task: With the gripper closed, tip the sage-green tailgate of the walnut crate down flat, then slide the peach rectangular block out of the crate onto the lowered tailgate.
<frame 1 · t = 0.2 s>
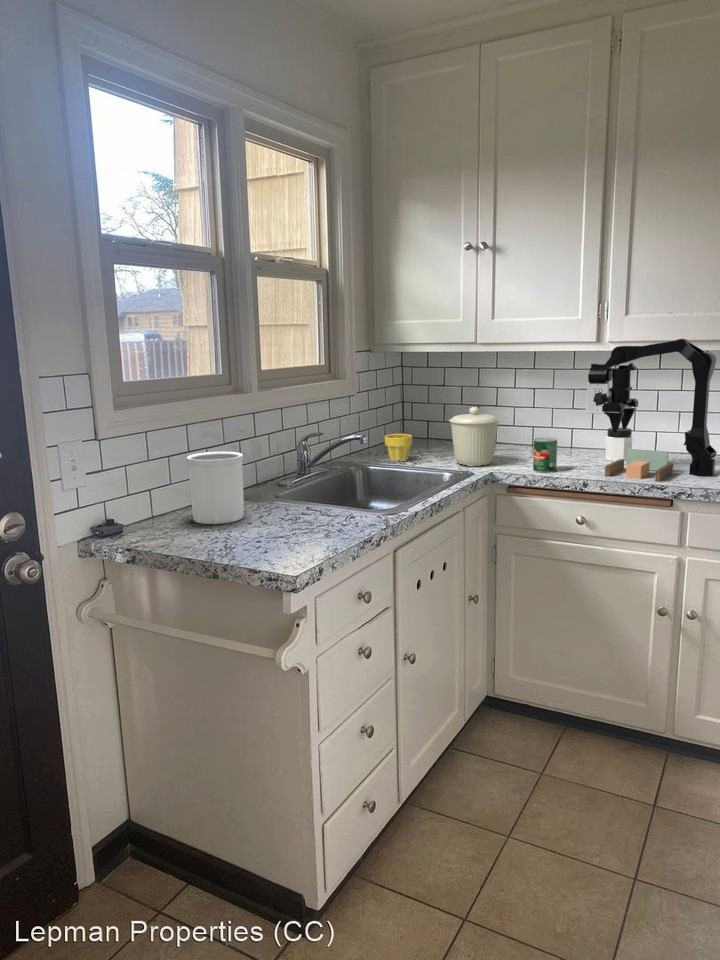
hand: (619, 430, 244), 14 cm above the counter, tool pointing down, fingers open, 9 cm apart
utensil holder: (219, 518, 199), on the counter
jar: (618, 462, 263), on the counter
canned tomato: (544, 471, 251), on the counter
tailgate: (647, 459, 240), point 5 cm above the counter, hinge at 0.0°
canister: (474, 464, 266), on the counter
peach rectangular block: (637, 476, 233), point 1 cm above the counter, touching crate
plant pot: (398, 461, 277), on the counter
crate: (638, 478, 234), on the counter
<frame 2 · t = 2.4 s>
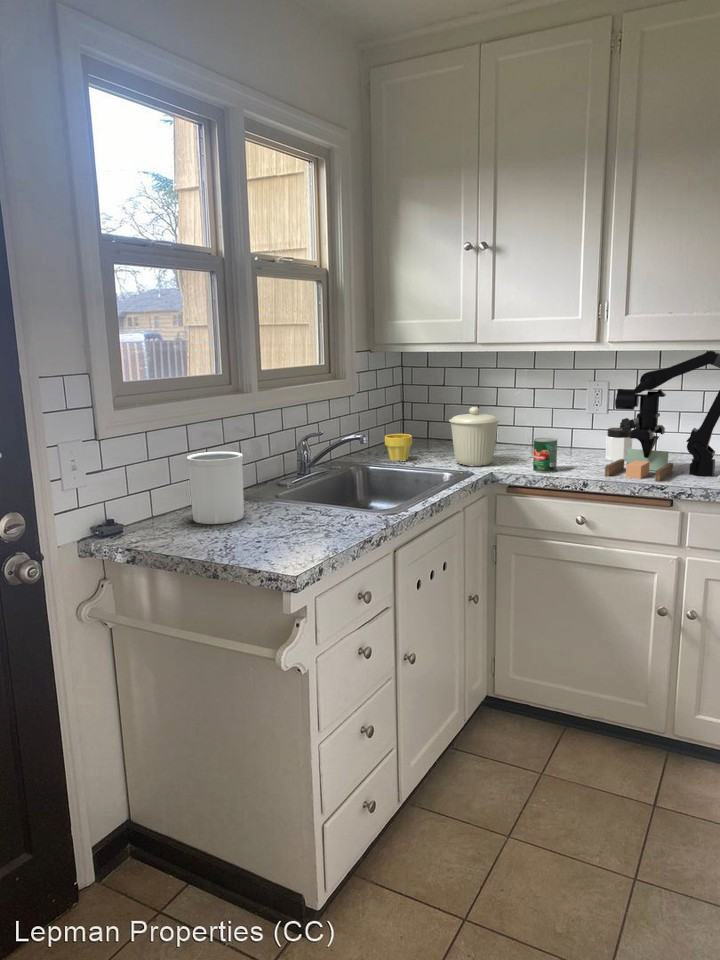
hand: (646, 457, 238), 6 cm above the counter, tool pointing down, fingers closed
tailgate: (647, 459, 240), point 5 cm above the counter, hinge at 2.5°, touching gripper
everything else where it was.
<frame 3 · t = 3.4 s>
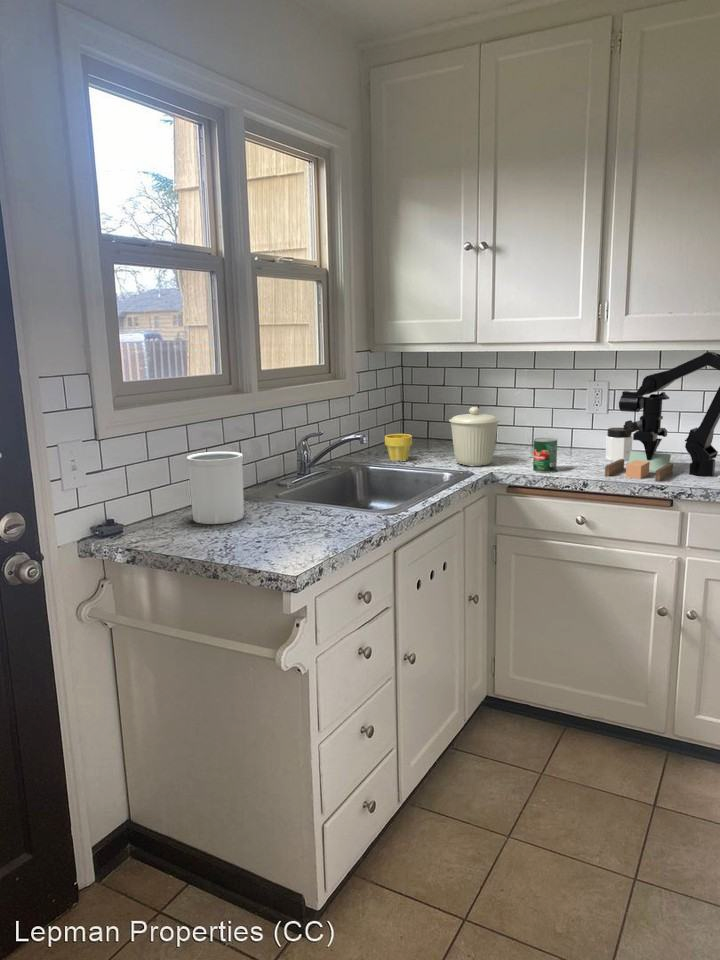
hand: (648, 459, 241), 4 cm above the counter, tool pointing down, fingers closed, pressing on tailgate
tailgate: (648, 462, 241), point 4 cm above the counter, hinge at 34.3°, touching gripper
everything else where it was.
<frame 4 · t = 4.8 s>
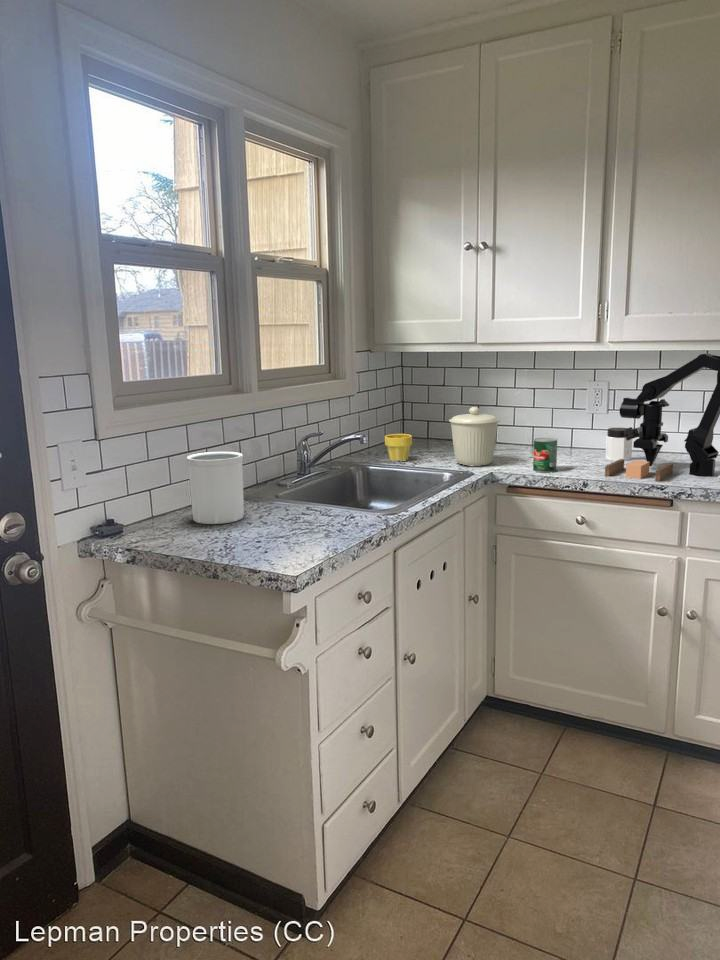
hand: (649, 466, 243), 2 cm above the counter, tool pointing down, fingers closed
tailgate: (649, 470, 243), point 1 cm above the counter, hinge at 87.4°
everything else where it was.
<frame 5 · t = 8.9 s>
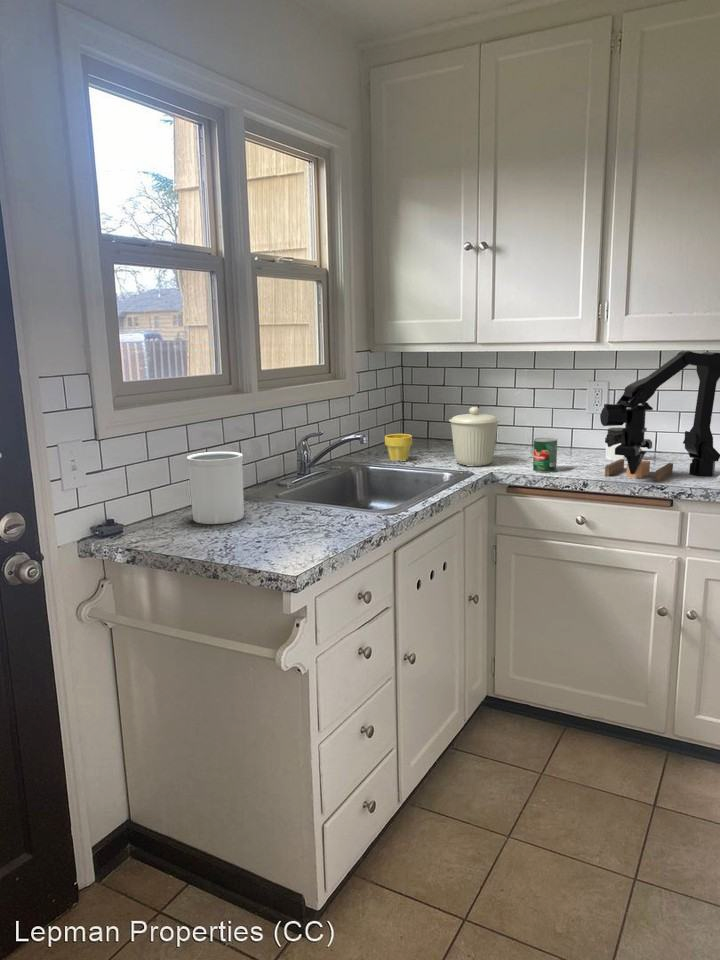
hand: (632, 474, 229), 3 cm above the counter, tool pointing down, fingers closed
peach rectangular block: (637, 475, 234), point 1 cm above the counter, touching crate, gripper
everything else where it was.
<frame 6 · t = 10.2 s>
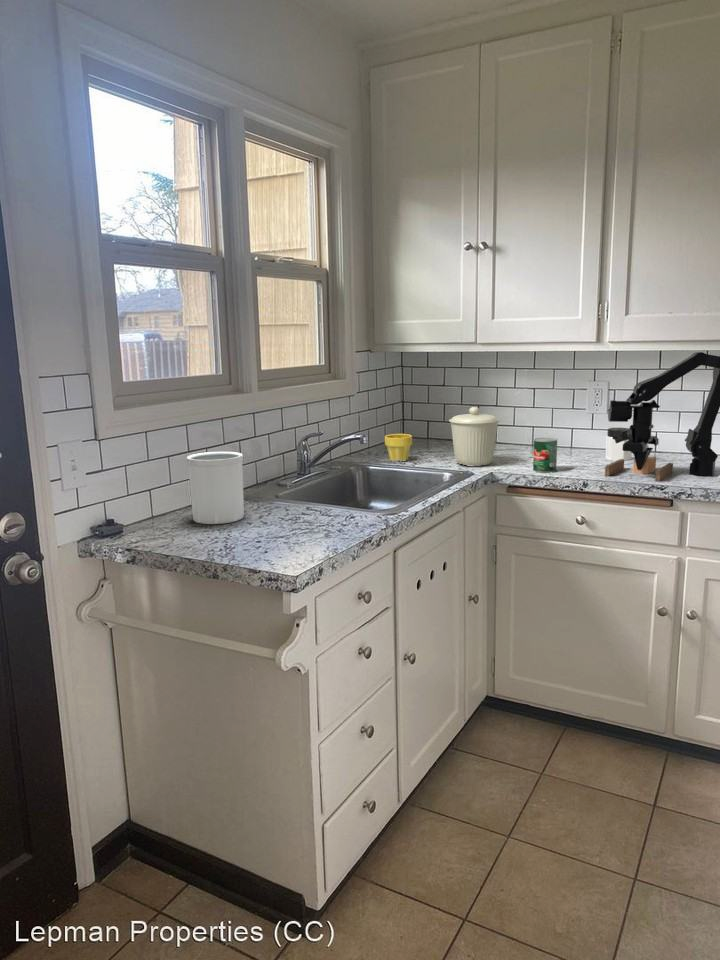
hand: (639, 469, 234), 3 cm above the counter, tool pointing down, fingers closed
tailgate: (649, 470, 243), point 1 cm above the counter, hinge at 88.0°
peach rectangular block: (644, 471, 240), point 1 cm above the counter, touching gripper
everything else where it was.
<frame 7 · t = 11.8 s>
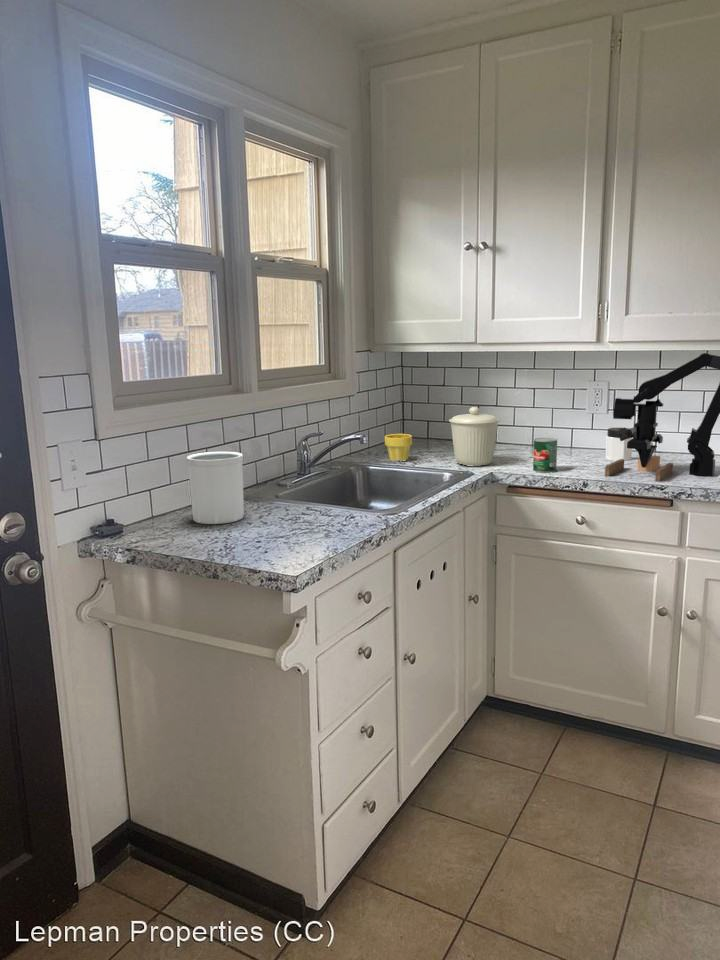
hand: (643, 467, 238), 3 cm above the counter, tool pointing down, fingers closed
tailgate: (648, 471, 243), on the counter, hinge at 90.4°, touching peach rectangular block
peach rectangular block: (648, 469, 243), point 1 cm above the counter, touching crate, gripper, tailgate
everything else where it was.
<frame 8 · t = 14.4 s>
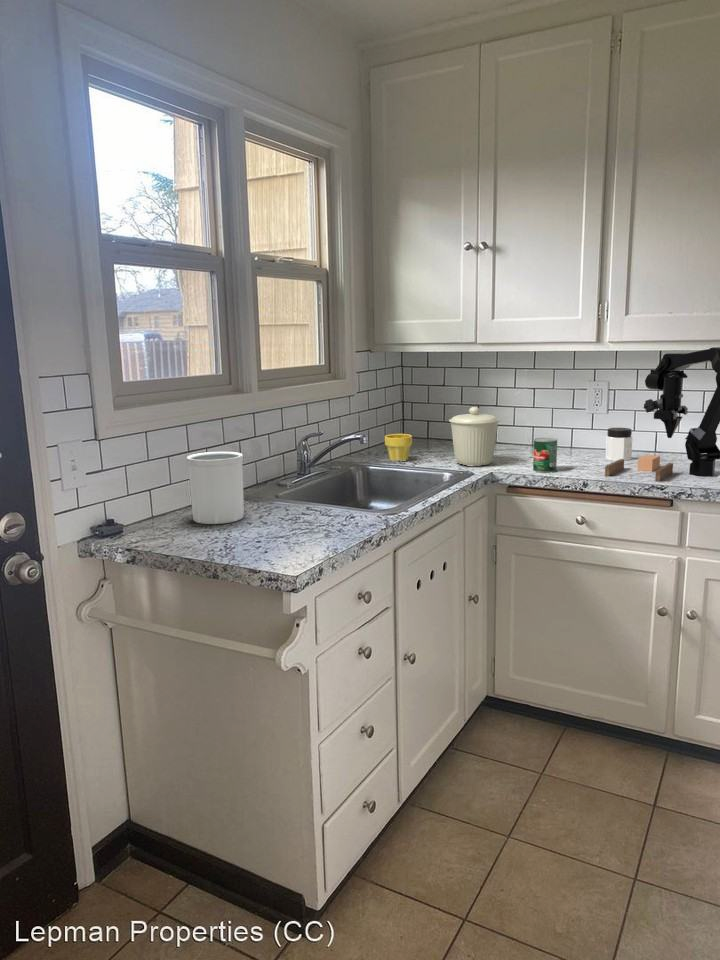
hand: (669, 437, 244), 11 cm above the counter, tool pointing down, fingers closed
peach rectangular block: (648, 469, 243), point 1 cm above the counter, touching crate, tailgate
everything else where it was.
at the end: tailgate at +90° (first picture: +0°); peach rectangular block inside the target area (0.5 cm from its centre), point 0.9 cm above the counter; peach rectangular block tilted 1° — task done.
